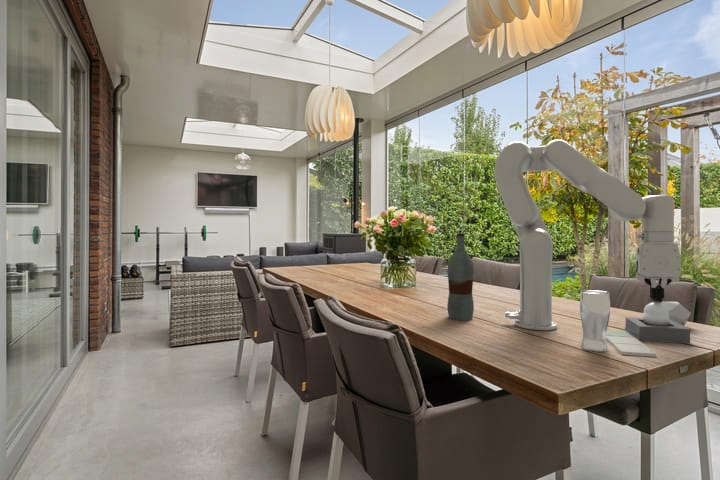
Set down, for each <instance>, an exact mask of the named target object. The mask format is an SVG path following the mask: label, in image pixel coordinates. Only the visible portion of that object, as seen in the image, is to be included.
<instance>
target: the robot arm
mask: <svg viewBox="0 0 720 480" xmlns="http://www.w3.org/2000/svg"><path fill="white" fill-rule="evenodd" d="M547 171H555V172H556V173H557V174H559V175H560V176H561V177H562V178H563V179H565V181H566V180H567V182H568V183H570V184H571V185H572V186H573V187H575V188H576V189H577V190H579V191H580V192H583V193H585V194H587V195H588V194H589V195H590V196H592V197H594V198H595V199H597V200H598V201H599V202H601V203H602V204H603V205H605V206H606V207H607V208H608V209H609V210H610V214H611V216H612V217H613V218H614V219H615V220H618V221H621V222H632V221H638V220H641V232H640V233H639V234H638V233H637V234H636V236H635V238H636V240H640V241H641V242H639V243H638V246H637V251H636V257H635V277H634V279H635V280H636V281H640V282H643V283H645V284H646V285H648V287H649V298H650V299H651V301H653V302H658V303H661V302H663V300H664V299H665V289H667V286H669V284H671V283H675V282H680V280H681V279H680V277H681V275H682V261H681V260H682V259H681V254H680V248H679V244H678V242H675V241H674V239H675V238H674V237H675V235H674V234H675V198H674V197H673V196H672V195H669V194H656V195H655V194H654V195H646V196H643V197H642V196H641V195H640V194H638V193H637V192H636V191H635V190H633V189H632V188H631V187H629V186H628V185H627V184H625V183H624V182H623V181H622V180H620V179H618V178H617V177H615V176H614V175H612V174H611V173H610V172H608V171H607V170H605V169H603V168H602V167H600V166H599V165H598V164H596V163H595V162H593V161H592V160H590V158H588V157H587V156H586V155H584V154H583V153H582V152H580V151H579V150H578V149H577V148H575V147H574V146H573V145H571V144H570V143H569V142H567V141H566V140H563V139H560V138H559V139H553V140H551V141H549V142H548V143H547V144H546V145H540V146H529V145H528V144H527V143H525V142H524V141H520V140H518V141H517V140H516V141H512V142H510V143H508V144H506V146H504V148H503V149H502V150H501V151H500V153H499V154H498V156H497V158H496V161H495V165H494V179H495V183H496V186H497V188H498V191H499V193H500V196H501V200H502V202H503V204H504V206H505V210H506V212H507V216H508V219H509V220H510V221H511V223H512V225H513V227H514V229H515V231H516V234H517V237H518V239H519V309H518V311H514V312H510V311H505V312H504V317H505V319H509V320H514V325H515V326H516V327H518V328H521V329H525V330H532V331H552V330H553V331H554V330H557V328H558V324H557V322H555V321H552V320H553V315H552V313H553V312H552V311H553V308H552V307H553V251H554V243H553V238H552V235H550V232H549V230H548V227H547V225H546V223H545V221H544V219H543V217H542V214H541V211H540V209H539V206H538V205H537V203H536V202H535V200H534V199H533V196H532V195H531V192H530V190H529V187H528V184H527V182H526V180H525V177H524V174H523V173H527V172H528V173H529V172H547ZM657 278H658V280H657V281H656V279H657Z"/></svg>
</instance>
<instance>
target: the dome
mask: <svg viewBox="0 0 720 480" xmlns="http://www.w3.org/2000/svg"><path fill="white" fill-rule="evenodd" d="M642 318H643V322H644V323H648V324H653V325H669V311H668V309H667V307H666V306H665V305H663V304H661V302H659V301H658V302H655V301H653V302H649V303H647V304H646V305H645V306H644V309H643V317H642Z"/></svg>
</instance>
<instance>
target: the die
mask: <svg viewBox="0 0 720 480" xmlns="http://www.w3.org/2000/svg"><path fill="white" fill-rule="evenodd" d="M660 303H661V304H663V305H665V306H666V307H667V309H668V311H669V320H673V321H675V322H677V323H679V324H681V325H683V326H685V327H686V324H687V322H688V320H689V318H690V316H691V315H692V312H690V310H688V309H687V308H686V307H684V306H683V305H682V304H681V303H680V302H678V301H662V302H660Z"/></svg>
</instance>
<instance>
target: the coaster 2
mask: <svg viewBox="0 0 720 480" xmlns="http://www.w3.org/2000/svg"><path fill="white" fill-rule="evenodd" d="M606 342H607V343H609V344H610V346H612V347H613V343H618V344H632V345H645V344H644V343H642V341H640V340H638V339H637V338H635V337H634V336H633V337H619V336H606Z"/></svg>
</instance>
